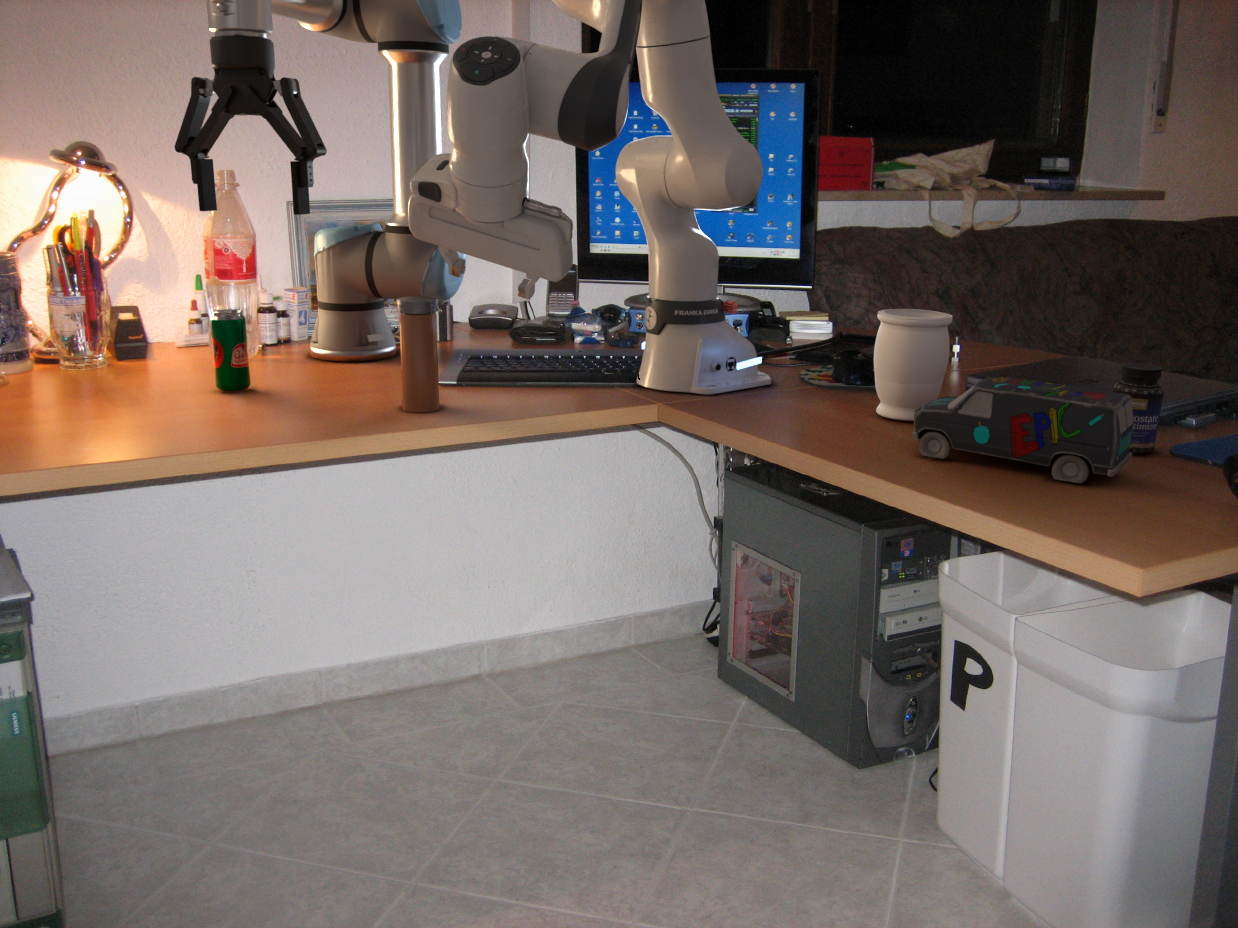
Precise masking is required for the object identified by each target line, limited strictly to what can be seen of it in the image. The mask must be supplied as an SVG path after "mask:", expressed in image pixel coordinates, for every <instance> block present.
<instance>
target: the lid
mask: <svg viewBox="0 0 1238 928" xmlns="http://www.w3.org/2000/svg"><path fill="white" fill-rule="evenodd" d="M396 311H397V312H398V313H399V312H400V313H407V314H427V313H435V312H437V313H438V312H439V301H438V298H435V297H426V296H410V297H401V298H397V299H396Z"/></svg>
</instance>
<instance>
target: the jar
mask: <svg viewBox="0 0 1238 928" xmlns="http://www.w3.org/2000/svg"><path fill="white" fill-rule="evenodd" d="M877 319H878V321H880V325H879V327H878V329H877V334H876V337H875V342H874V347H873V372H874V384H875V385H874V386H875V391H876V395H877V398H878V399H879V401H880V402H879V404H877V405H878V406H877V407H876V409H875V412H876V413H877V415H879V416H881V417H884V418H887V419H889V420H890V419H891V420H896V421H903V422H914V414H915V410H916V409H918V408H919V407H921V406H923V405H924V404H926V403H929V402H931V401H934V400H936V399H939V396H940V393H941V391H942V388H943V384H944V378H945V377H946V376H945V375H946V373H947V369H948V364H949V360H950V359H949V357H950V334H949V327H948V326H949V325H951V324H952V323H953V315H952V314H950V313H947V312H943V311H936V310H929V309H918V308H888V309H880V310H878V311H877Z"/></svg>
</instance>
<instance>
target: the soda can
mask: <svg viewBox="0 0 1238 928" xmlns="http://www.w3.org/2000/svg"><path fill="white" fill-rule="evenodd" d="M209 323H210V334H211V346H212V355H213V356H212V357H213V358H212V359H213V368H214V379H215V380H214V381H215V387H216V388H217V389H218V390H219V391H221V392H227V393H232V392H234V393H236V392H242V391H246V390H248V389H249V388H250V387H251V373H250V371H251V370H250V360H249V359H250V358H249V357H250V356H249V346H248V334H247V321H246V317H245V315H244V314H243V310H241V309H236V308H235V309H234V308H229V309H228V308H227V309H225V308H224V309H216V310H212V312H211V317H210V319H209Z"/></svg>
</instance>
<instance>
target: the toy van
mask: <svg viewBox="0 0 1238 928" xmlns="http://www.w3.org/2000/svg"><path fill="white" fill-rule="evenodd" d="M1134 427H1135V426H1134V418H1133V410H1132V401H1131V396H1129V395H1127V394H1121V393H1115V392H1112V391H1108V390H1103V389H1102V390H1100V389H1094V388H1089V387H1081V386H1076V385H1068V384H1061V383H1054V382H1047V381H1042V380H1041V381H1040V380H1032V379H1026V378H1025V379H1024V378H1016V377H1015V378H1014V377H1003V376H989V377H985V378H982V379H981V380H979V381H977V382H976V383H975V384H974V385H972V386H971V387H970V388H969V389H967V390H966V391H964V392H963V393H962V394H960V395H959V396H950V395H946V396H942V397H939V398H937V399H936V400H934V401H931V402H929V403H926V404H924V405H923V406H921V407H919V408H918V409H916V410H915V414H914V421H913V431H912V432H911V435H912V438H913V440H914V441H918V449H919V450H918V451H919V452H920V453H921V455H922V456H925V457H931V458H937V459H942V460H945V459H947V458H948V457H949V456H950V455H951V452H952V449H953V450H958V451H963V452H969V453H974V454H979V455H984V456H990V457H991V456H992V457H997V458H1002V459H1008V460H1013V461H1017V462H1018V461H1019V462H1024V463H1028V464H1034V465H1039V466H1043V467H1044V466H1045V467H1051V466H1052V467H1051V476H1052V479H1053V480H1058V481H1062V482H1068V483H1074V484H1083V483H1084V482H1086V481H1087V480H1088V479H1089V475H1090V473H1091V472H1092V474H1095V475H1105V476H1107V477H1115V475H1116V474H1118V473H1119V472H1120V471H1121V470H1122V469H1123V468H1125V466H1126V464H1127V463H1129V462H1130V460H1131V458H1132V456H1133V455H1134V453H1131V452H1129V451H1130V448H1131V441H1132V436H1133V430H1134ZM1090 471H1091V472H1090Z"/></svg>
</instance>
